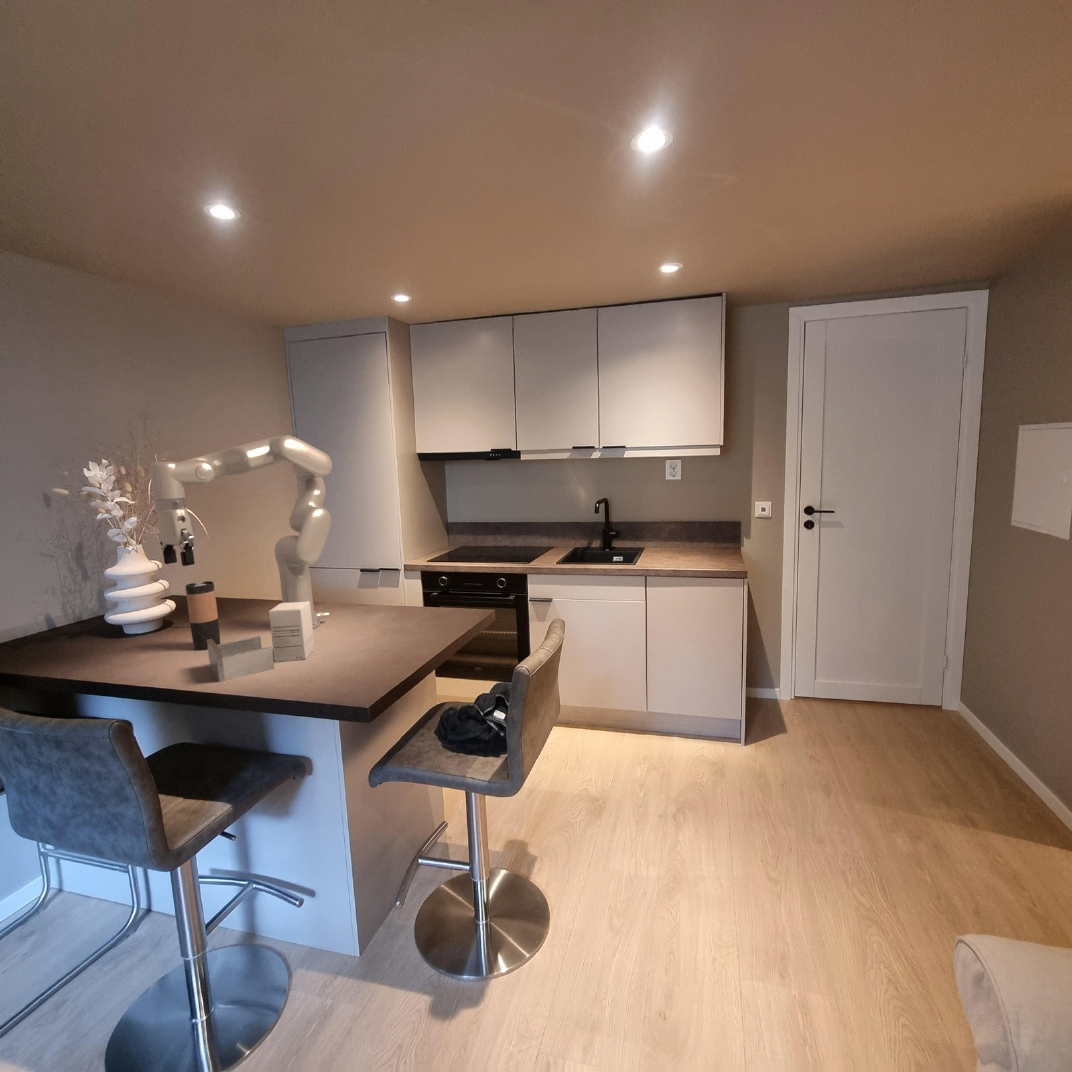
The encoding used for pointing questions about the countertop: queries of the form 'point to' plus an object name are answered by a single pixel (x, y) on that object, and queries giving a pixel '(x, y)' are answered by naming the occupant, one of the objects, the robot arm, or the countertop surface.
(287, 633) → the supplement box
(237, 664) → the bracket
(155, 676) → the countertop surface
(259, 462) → the robot arm
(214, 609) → the travel mug
